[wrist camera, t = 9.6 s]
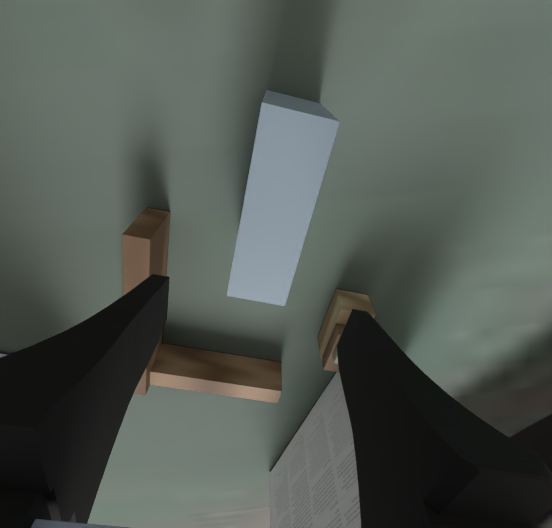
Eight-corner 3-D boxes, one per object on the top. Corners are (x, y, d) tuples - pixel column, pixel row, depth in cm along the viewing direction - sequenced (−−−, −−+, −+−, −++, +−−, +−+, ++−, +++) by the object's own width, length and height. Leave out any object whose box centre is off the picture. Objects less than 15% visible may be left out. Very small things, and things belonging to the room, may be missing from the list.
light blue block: (239, 234, 23) (226, 295, 17) (266, 89, 18) (261, 102, 12) (282, 243, 23) (284, 306, 17) (319, 102, 18) (339, 121, 13)
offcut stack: (317, 337, 27) (323, 381, 24) (336, 289, 25) (346, 329, 21) (346, 342, 28) (357, 386, 24) (367, 295, 25) (383, 335, 21)
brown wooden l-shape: (143, 352, 28) (124, 392, 25) (146, 207, 22) (121, 234, 18) (277, 373, 30) (277, 414, 26) (320, 242, 23) (328, 274, 19)
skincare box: (311, 481, 39) (329, 701, 26) (268, 472, 38) (262, 696, 25) (406, 364, 29) (520, 627, 16) (350, 348, 28) (419, 614, 15)
